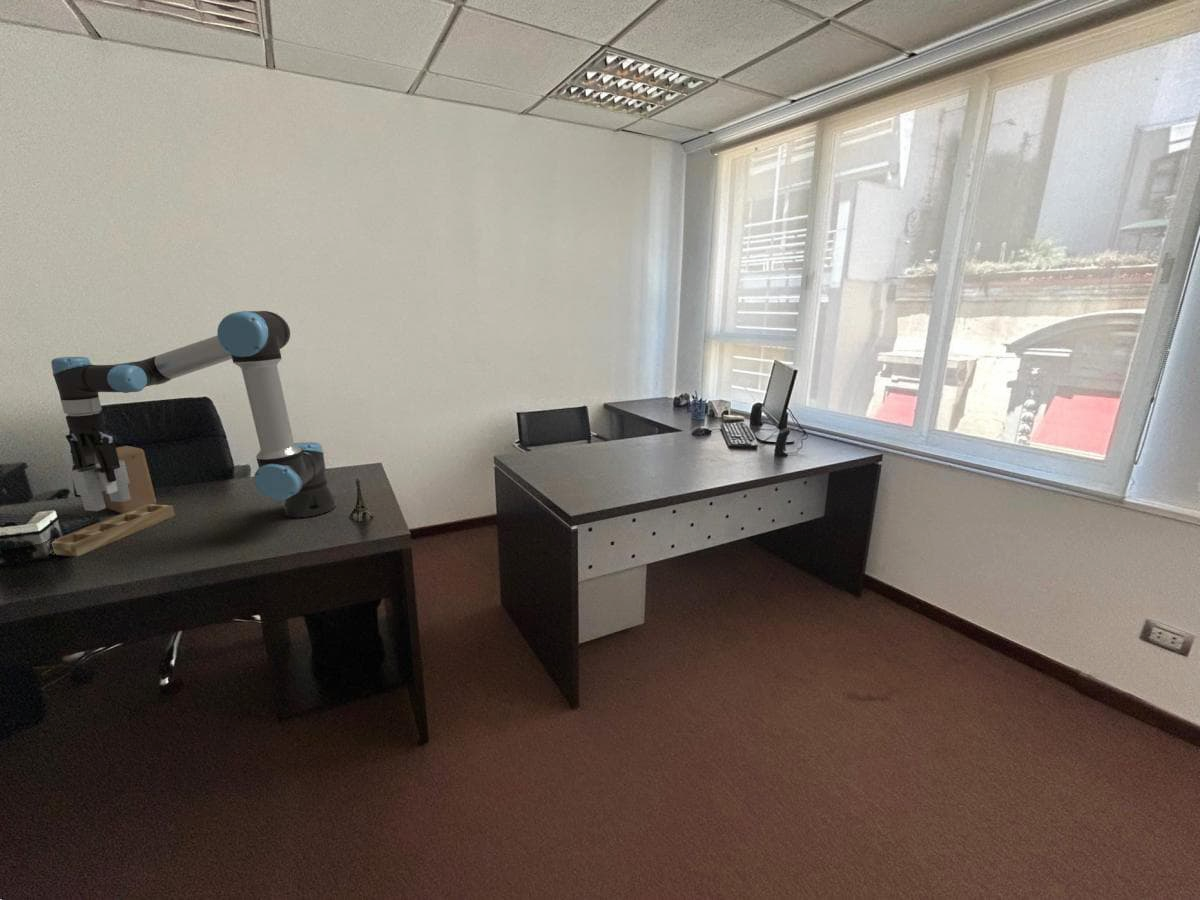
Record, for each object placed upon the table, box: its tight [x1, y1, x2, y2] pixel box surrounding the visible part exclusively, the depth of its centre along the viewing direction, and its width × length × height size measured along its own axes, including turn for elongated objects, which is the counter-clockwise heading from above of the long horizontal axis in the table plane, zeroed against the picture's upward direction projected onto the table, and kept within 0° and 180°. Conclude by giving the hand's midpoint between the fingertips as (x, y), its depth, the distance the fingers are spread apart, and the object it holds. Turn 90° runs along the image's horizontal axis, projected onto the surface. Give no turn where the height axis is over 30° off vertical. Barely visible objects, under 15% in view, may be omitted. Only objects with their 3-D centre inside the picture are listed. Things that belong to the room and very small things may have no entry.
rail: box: [51, 503, 176, 557], centre depth 150 cm, size 9×28×4 cm, turn 172°
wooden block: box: [94, 445, 157, 514], centre depth 166 cm, size 10×10×20 cm
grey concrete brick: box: [69, 460, 131, 512], centre depth 146 cm, size 4×11×12 cm, turn 172°
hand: (105, 491), depth 146 cm, fingers closed on grey concrete brick, 4 cm apart
